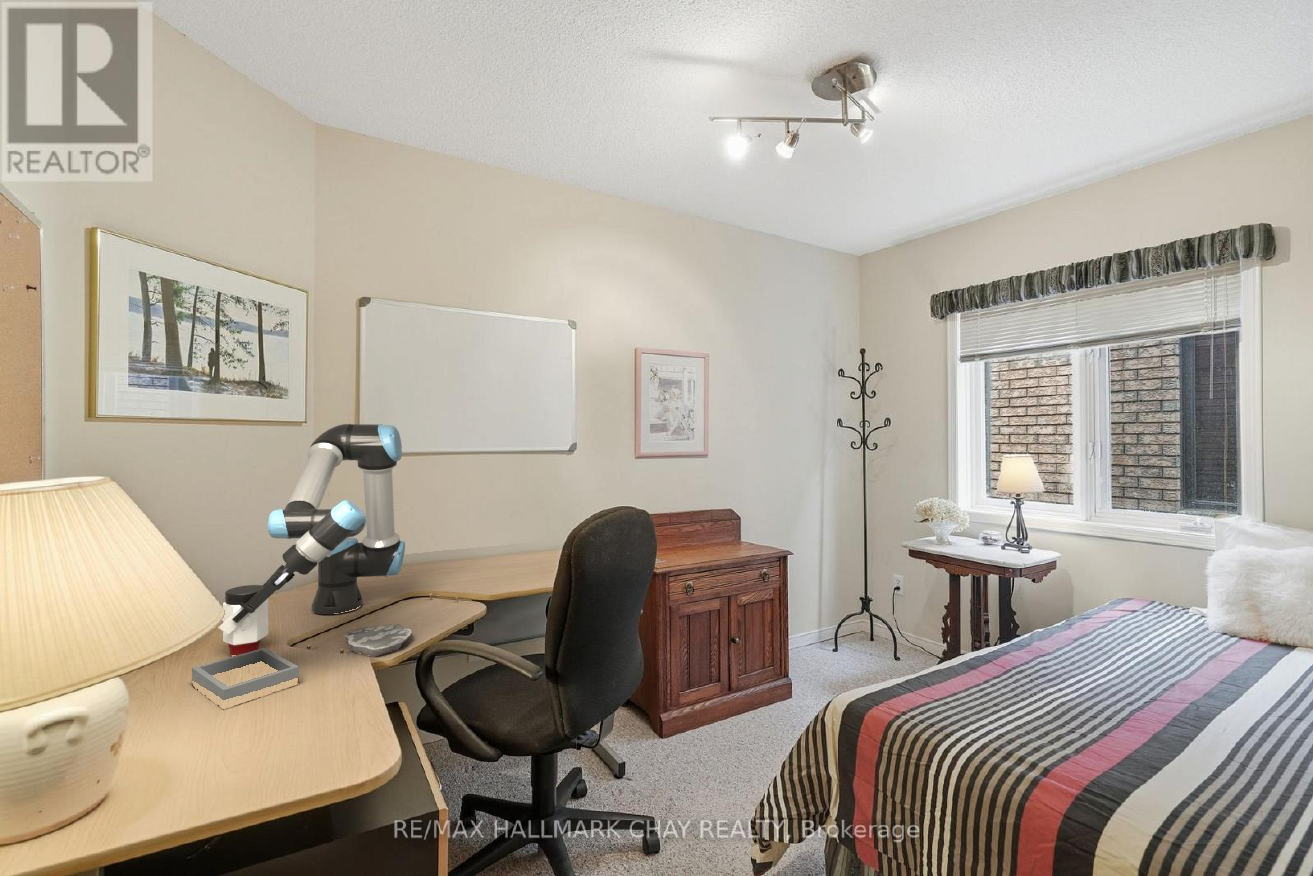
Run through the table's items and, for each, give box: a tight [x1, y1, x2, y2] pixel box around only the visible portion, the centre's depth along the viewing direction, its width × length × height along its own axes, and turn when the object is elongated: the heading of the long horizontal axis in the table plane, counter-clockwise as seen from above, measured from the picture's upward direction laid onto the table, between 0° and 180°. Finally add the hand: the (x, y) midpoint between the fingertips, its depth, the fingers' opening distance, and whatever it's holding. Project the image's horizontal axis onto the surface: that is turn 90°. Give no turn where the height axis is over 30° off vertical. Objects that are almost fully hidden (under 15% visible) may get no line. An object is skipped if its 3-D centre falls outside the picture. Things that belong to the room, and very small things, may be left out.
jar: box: [222, 584, 269, 645], centre depth 141 cm, size 9×8×12 cm
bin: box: [191, 647, 300, 700], centre depth 142 cm, size 19×16×4 cm
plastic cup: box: [220, 619, 261, 656], centre depth 159 cm, size 11×11×12 cm
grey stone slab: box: [343, 624, 413, 657], centre depth 169 cm, size 20×17×3 cm
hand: (229, 624), depth 140 cm, fingers closed on jar, 8 cm apart
